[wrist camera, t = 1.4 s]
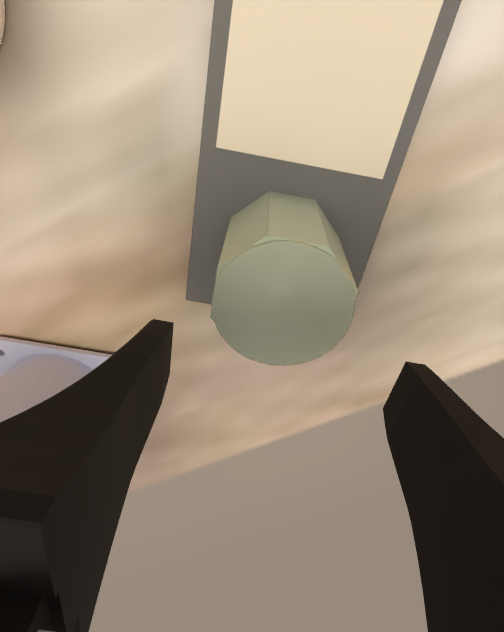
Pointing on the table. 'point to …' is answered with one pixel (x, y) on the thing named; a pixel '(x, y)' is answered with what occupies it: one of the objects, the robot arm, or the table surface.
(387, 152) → the mat
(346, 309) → the sage cup
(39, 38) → the table surface
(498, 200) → the table surface
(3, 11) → the cup
